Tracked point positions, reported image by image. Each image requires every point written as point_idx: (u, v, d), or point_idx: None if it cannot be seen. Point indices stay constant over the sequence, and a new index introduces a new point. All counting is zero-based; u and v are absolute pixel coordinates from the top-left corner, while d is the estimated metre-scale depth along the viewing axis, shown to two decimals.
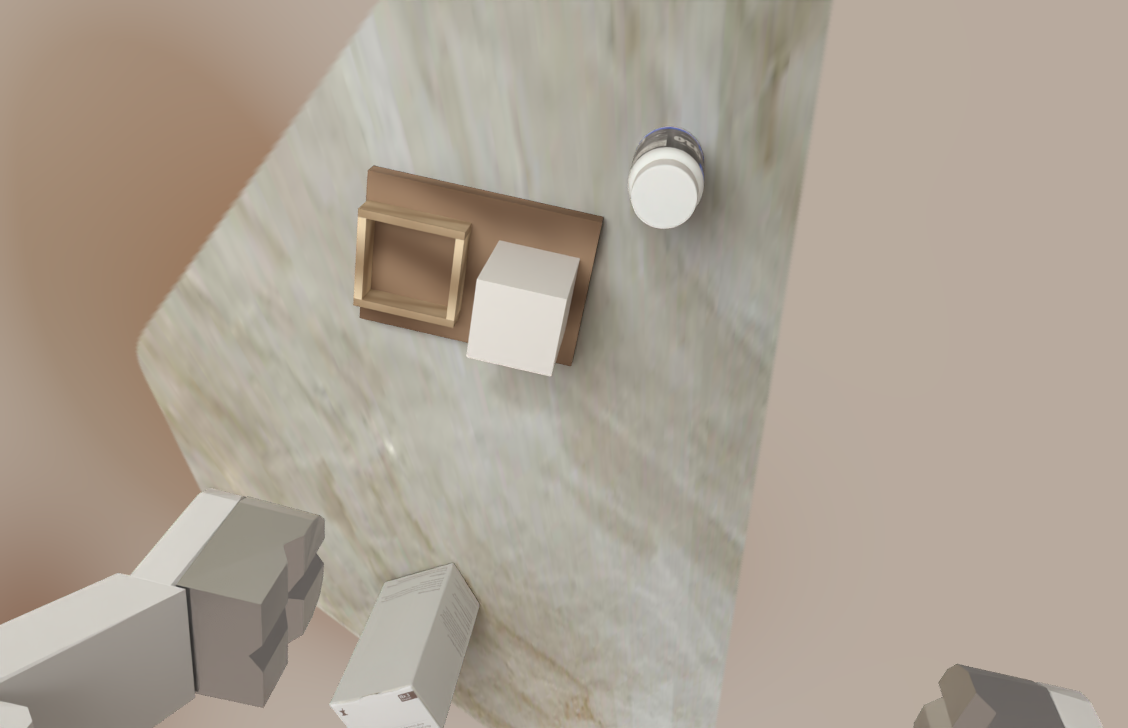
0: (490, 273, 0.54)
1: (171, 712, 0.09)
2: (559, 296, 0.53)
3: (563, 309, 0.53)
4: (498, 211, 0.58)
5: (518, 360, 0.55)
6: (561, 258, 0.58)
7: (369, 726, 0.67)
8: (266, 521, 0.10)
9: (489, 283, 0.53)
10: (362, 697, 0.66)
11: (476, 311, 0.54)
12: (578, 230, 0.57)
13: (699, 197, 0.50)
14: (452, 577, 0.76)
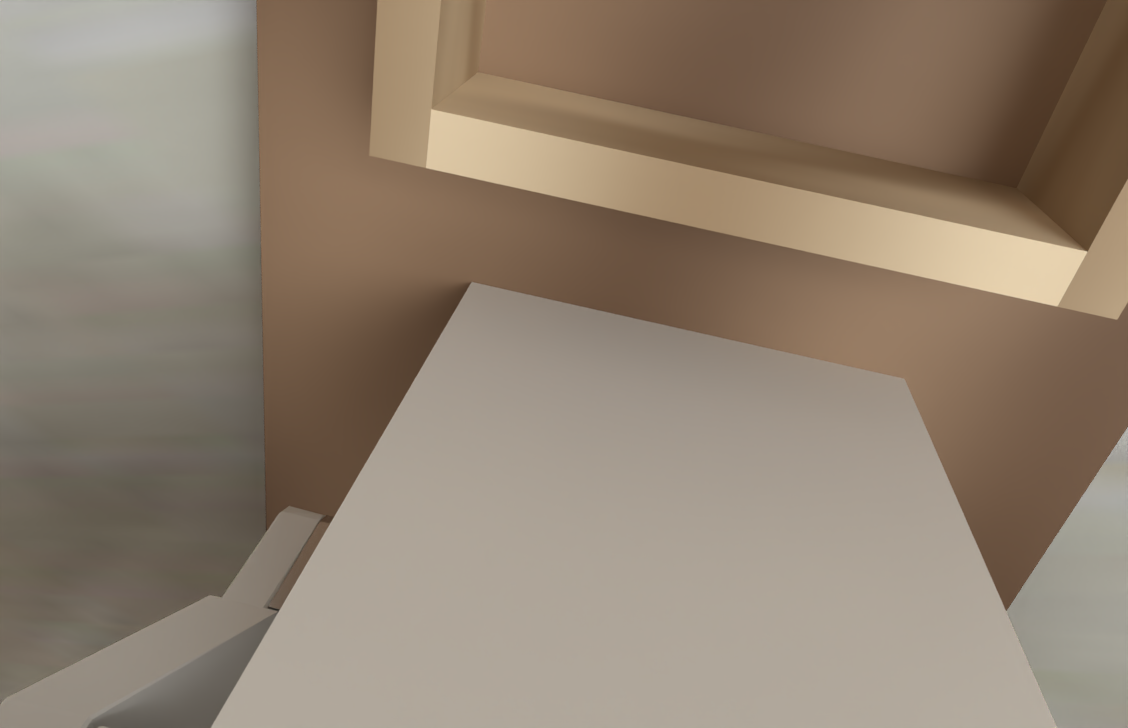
0: None
1: None
2: None
3: None
4: (1074, 392, 0.11)
5: None
6: None
7: None
8: None
9: None
10: None
11: None
12: None
13: None
14: None
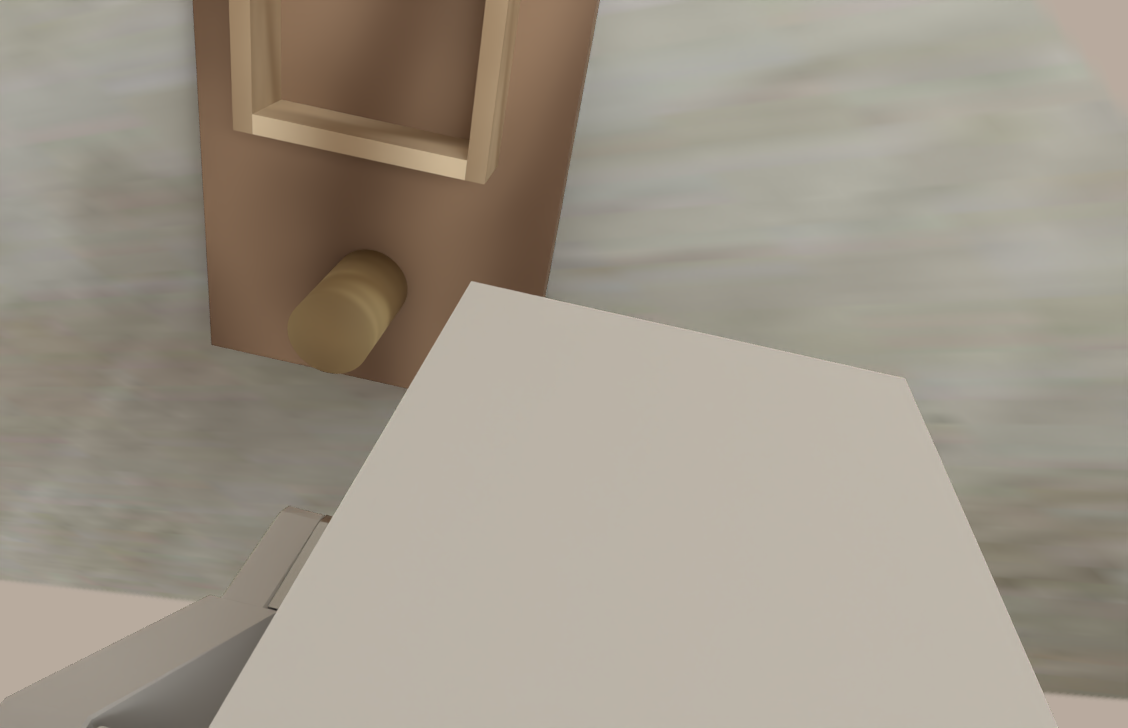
0: None
1: None
2: None
3: None
4: (528, 226, 0.27)
5: None
6: None
7: None
8: None
9: None
10: None
11: None
12: None
13: None
14: None
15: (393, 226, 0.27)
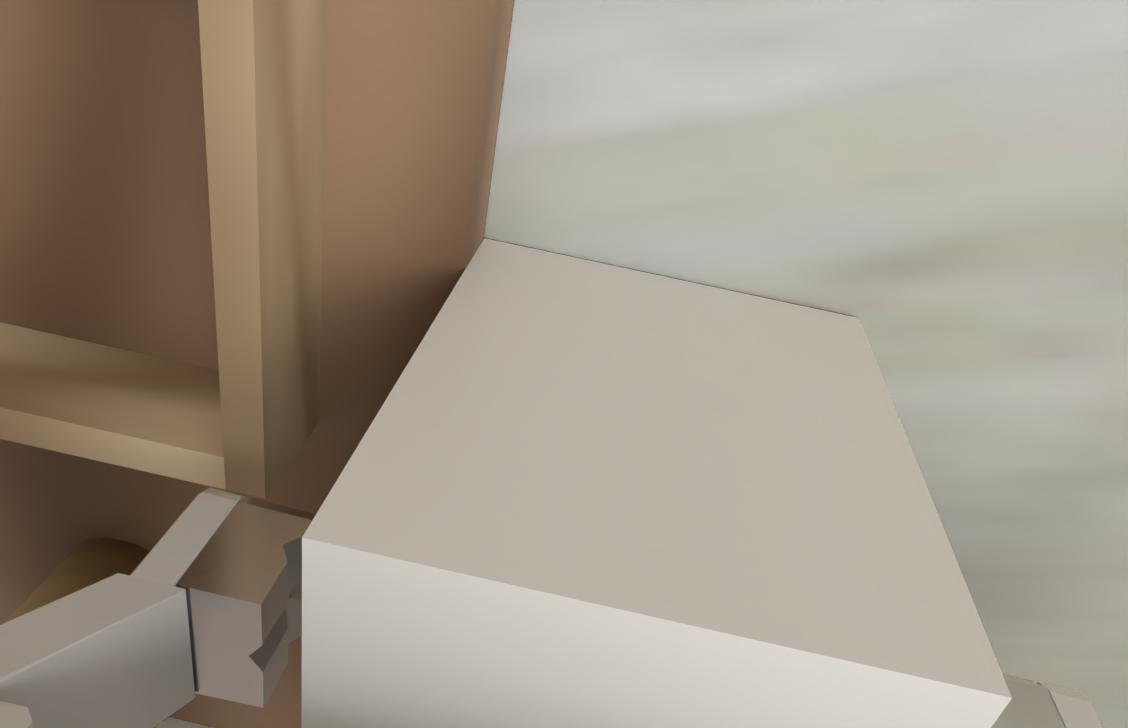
0: None
1: (171, 712, 0.09)
2: None
3: None
4: None
5: None
6: None
7: None
8: (266, 521, 0.10)
9: None
10: None
11: (719, 655, 0.07)
12: None
13: None
14: None
15: (149, 507, 0.15)
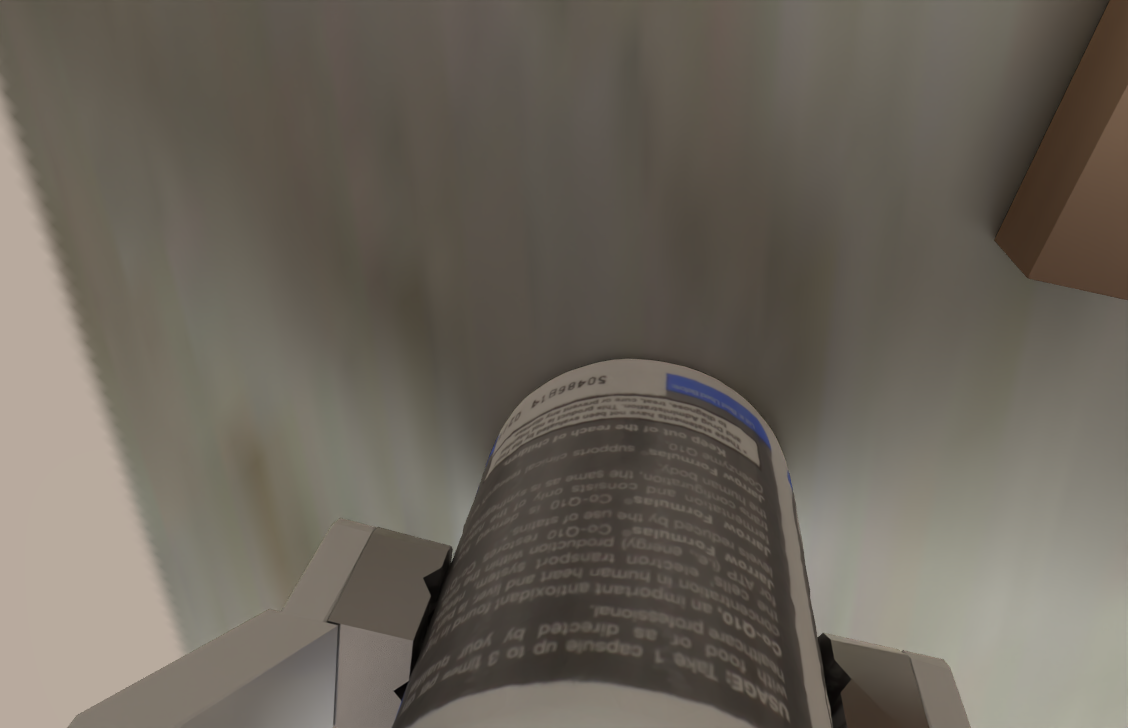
0: None
1: None
2: None
3: None
4: None
5: None
6: None
7: None
8: (402, 553, 0.10)
9: None
10: None
11: None
12: None
13: None
14: None
15: None
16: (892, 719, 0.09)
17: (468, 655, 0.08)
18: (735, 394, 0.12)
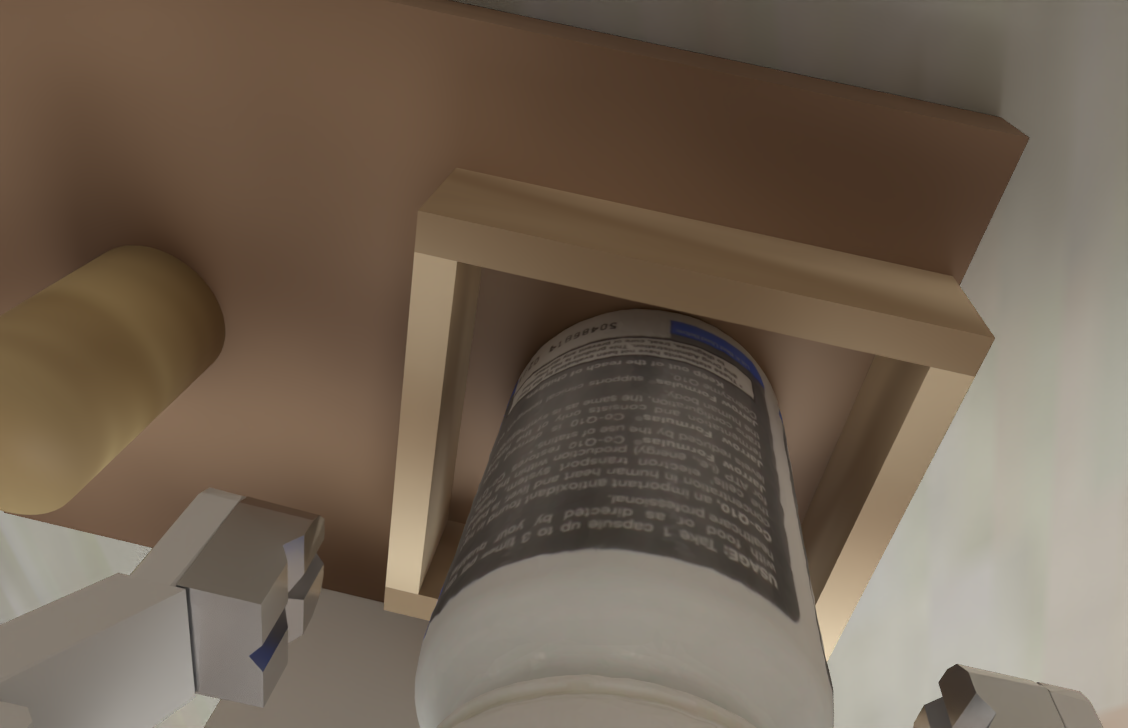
0: None
1: (171, 712, 0.09)
2: None
3: None
4: (328, 560, 0.17)
5: None
6: None
7: None
8: (266, 521, 0.10)
9: None
10: None
11: None
12: None
13: (421, 690, 0.09)
14: None
15: (280, 371, 0.15)
16: None
17: (503, 538, 0.09)
18: (732, 340, 0.13)
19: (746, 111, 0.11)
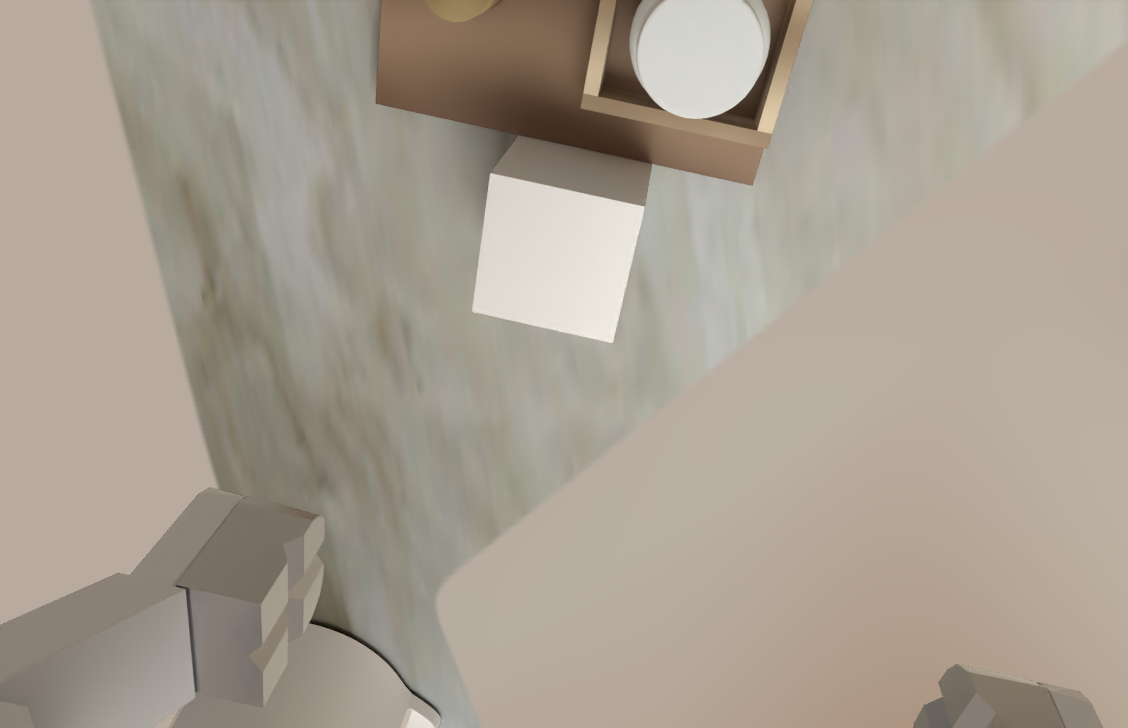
0: None
1: (171, 712, 0.09)
2: None
3: (476, 296, 0.33)
4: (540, 119, 0.35)
5: (549, 203, 0.31)
6: None
7: None
8: (266, 521, 0.10)
9: (592, 336, 0.34)
10: None
11: (618, 291, 0.32)
12: (410, 89, 0.35)
13: (635, 26, 0.27)
14: None
15: (533, 3, 0.33)
16: None
17: None
18: None
19: None
